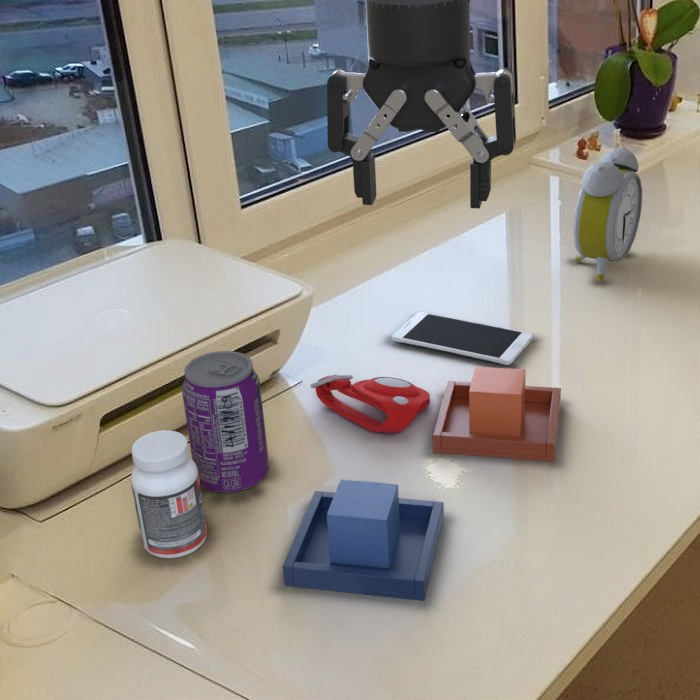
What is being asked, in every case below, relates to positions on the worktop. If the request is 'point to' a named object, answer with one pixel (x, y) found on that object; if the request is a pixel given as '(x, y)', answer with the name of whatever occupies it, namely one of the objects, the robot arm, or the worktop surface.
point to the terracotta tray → (531, 445)
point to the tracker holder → (375, 400)
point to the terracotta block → (497, 401)
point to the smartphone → (463, 338)
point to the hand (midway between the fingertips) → (422, 203)
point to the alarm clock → (608, 209)
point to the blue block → (363, 523)
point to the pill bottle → (167, 495)
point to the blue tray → (398, 581)
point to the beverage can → (225, 421)
